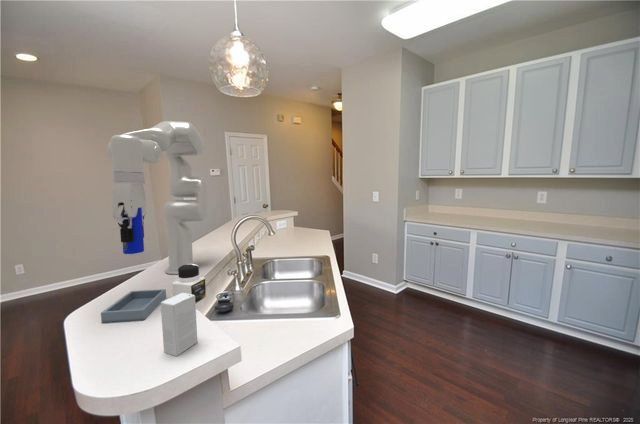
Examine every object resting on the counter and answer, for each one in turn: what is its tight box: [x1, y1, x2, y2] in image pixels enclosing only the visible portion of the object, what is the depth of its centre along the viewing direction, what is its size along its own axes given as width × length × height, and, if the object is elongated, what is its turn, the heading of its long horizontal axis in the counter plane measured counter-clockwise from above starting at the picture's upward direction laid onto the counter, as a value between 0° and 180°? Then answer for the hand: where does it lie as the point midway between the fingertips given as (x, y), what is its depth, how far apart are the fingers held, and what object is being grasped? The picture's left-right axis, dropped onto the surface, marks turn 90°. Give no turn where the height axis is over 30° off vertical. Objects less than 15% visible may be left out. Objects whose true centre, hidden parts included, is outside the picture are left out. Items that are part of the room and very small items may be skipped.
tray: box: [100, 288, 167, 324], centre depth 82 cm, size 16×11×3 cm
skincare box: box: [160, 293, 198, 357], centre depth 62 cm, size 6×4×12 cm
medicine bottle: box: [171, 263, 207, 305], centre depth 87 cm, size 7×7×12 cm
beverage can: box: [122, 206, 145, 257], centre depth 80 cm, size 5×5×15 cm
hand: (133, 239), depth 80 cm, fingers closed on beverage can, 5 cm apart
